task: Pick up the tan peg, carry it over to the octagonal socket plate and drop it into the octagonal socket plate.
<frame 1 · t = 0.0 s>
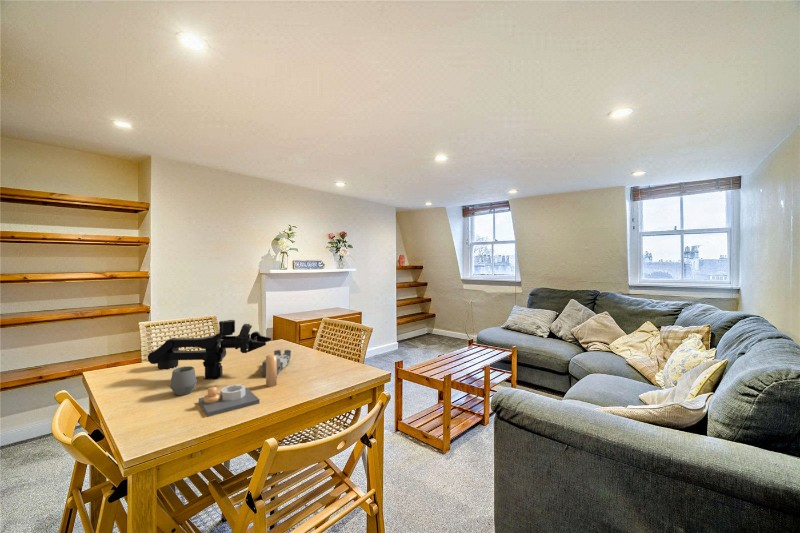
hand: (268, 341, 165), 17 cm above the table, tool horizontal, fingers open, 9 cm apart
octagonal socket plate: (233, 399, 137), on the table
tan peg: (271, 385, 153), on the table
cup: (183, 393, 143), on the table
pen holder: (168, 367, 176), on the table
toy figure: (276, 367, 179), on the table
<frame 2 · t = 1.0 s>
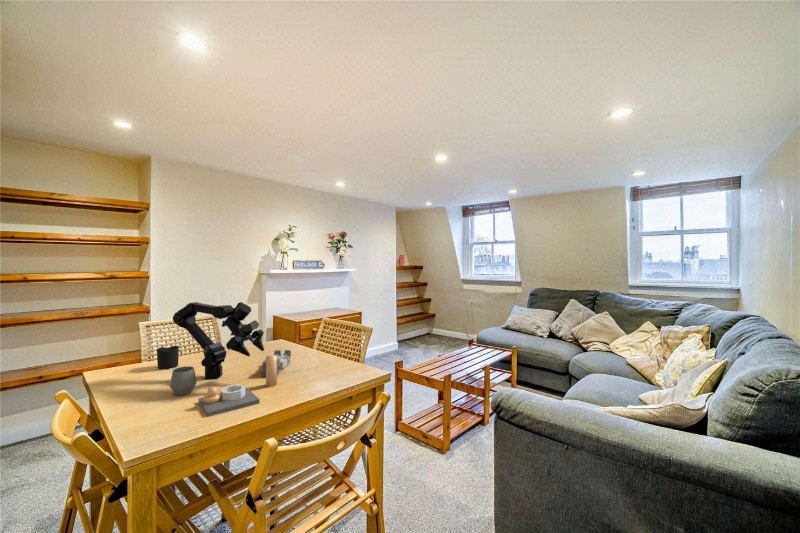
hand: (256, 353, 155), 14 cm above the table, tool tilted 45°, fingers open, 9 cm apart
nothing on the table moved.
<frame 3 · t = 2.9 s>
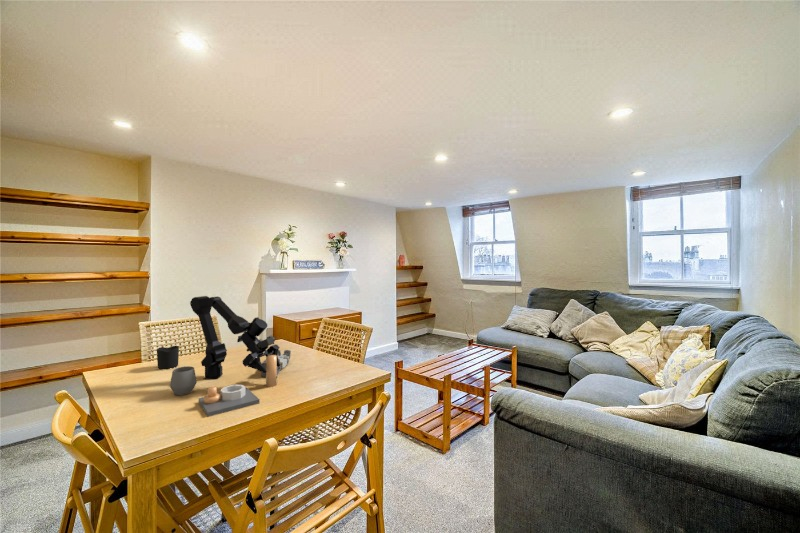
hand: (272, 369, 153), 7 cm above the table, tool tilted 45°, fingers open, 9 cm apart
nothing on the table moved.
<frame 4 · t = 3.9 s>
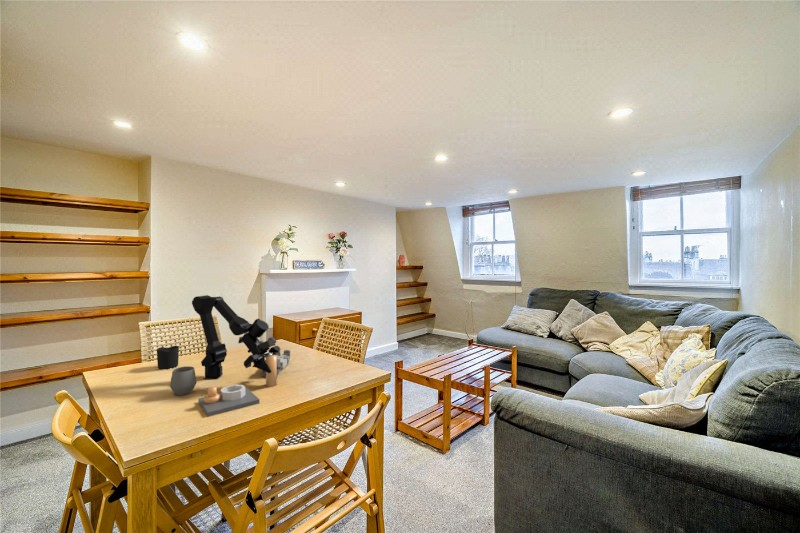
hand: (274, 370, 152), 7 cm above the table, tool tilted 45°, fingers closed on tan peg, 4 cm apart
tan peg: (271, 385, 153), on the table, touching gripper
everything else where it was.
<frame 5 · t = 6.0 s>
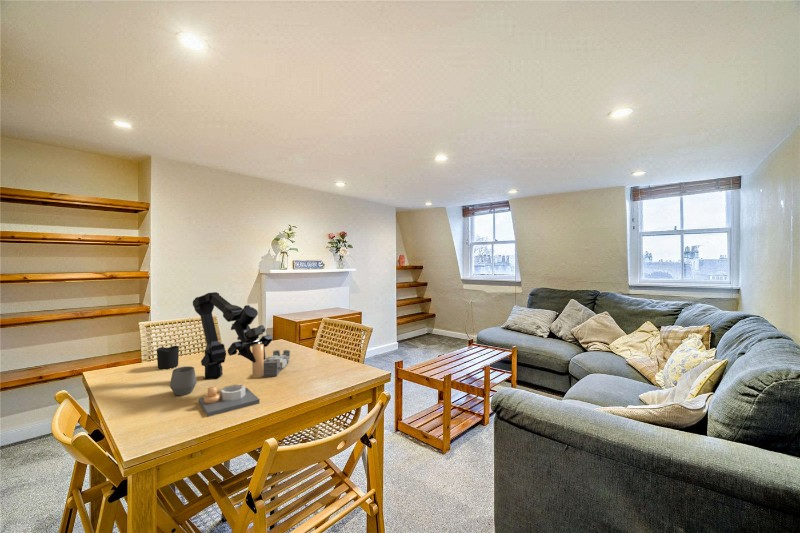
hand: (260, 360, 144), 13 cm above the table, tool tilted 45°, fingers closed on tan peg, 4 cm apart
tan peg: (257, 375, 145), point 7 cm above the table, touching gripper
everything else where it was.
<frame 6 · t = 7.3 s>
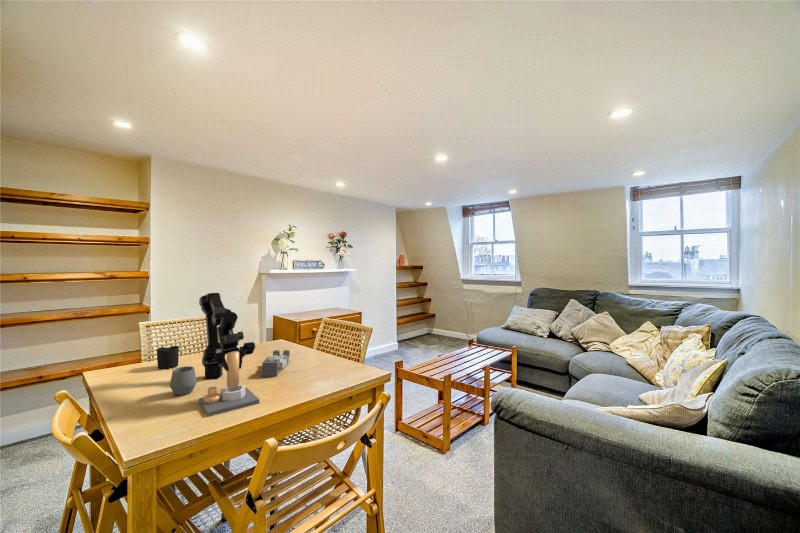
hand: (234, 369, 136), 12 cm above the table, tool tilted 45°, fingers closed on tan peg, 4 cm apart
tan peg: (233, 385, 137), point 6 cm above the table, touching gripper
everything else where it was.
when the fingers open (9 cm above the table, at t = 8.2 s): tan peg drops 1 cm, resting on octagonal socket plate.
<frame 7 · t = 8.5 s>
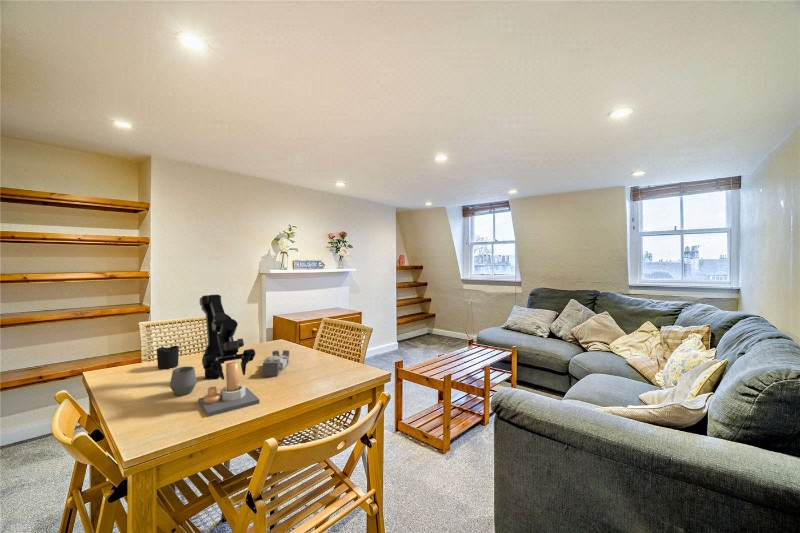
hand: (234, 377, 136), 10 cm above the table, tool tilted 45°, fingers open, 7 cm apart
tan peg: (233, 395, 137), point 2 cm above the table, touching octagonal socket plate
everything else where it was.
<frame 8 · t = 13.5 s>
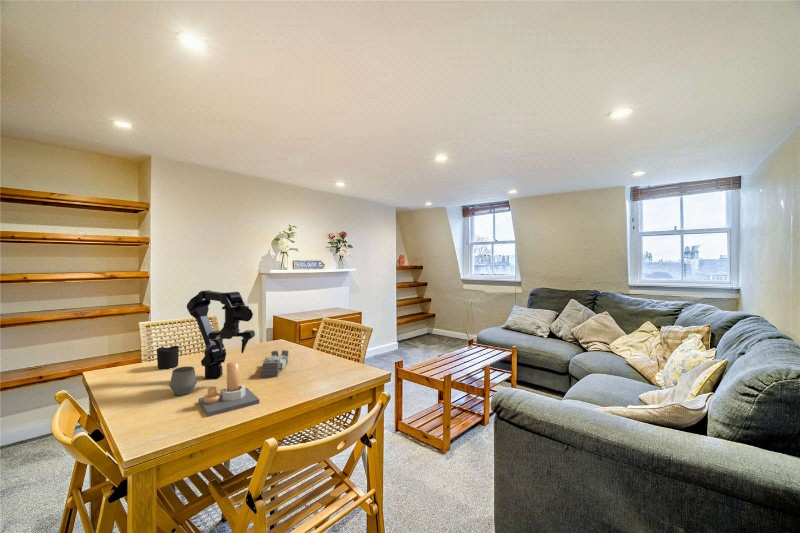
hand: (231, 353, 157), 13 cm above the table, tool pointing down, fingers open, 9 cm apart
at the end: tan peg 0.0 cm off-centre on the octagonal socket plate, point 1.5 cm above the octagonal socket plate's base; tan peg tilted 1°; the gripper is holding nothing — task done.
